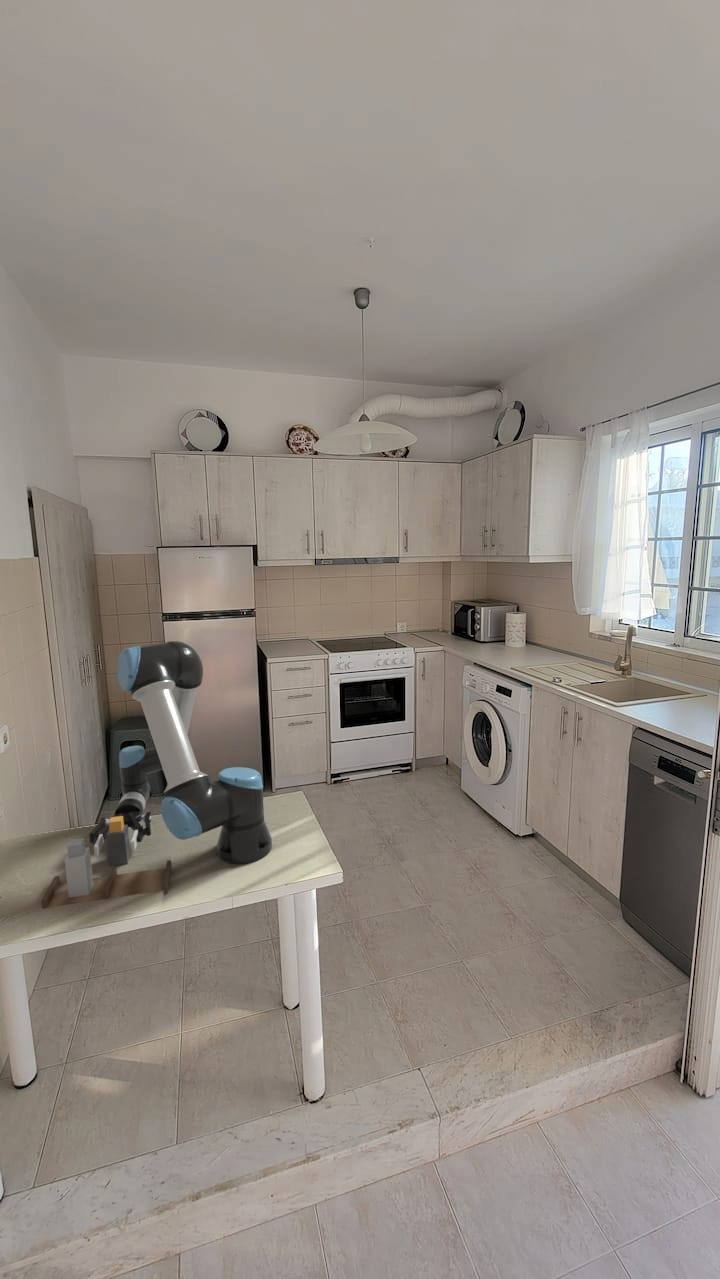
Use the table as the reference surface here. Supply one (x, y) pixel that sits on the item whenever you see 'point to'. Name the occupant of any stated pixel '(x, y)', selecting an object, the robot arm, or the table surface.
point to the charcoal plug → (118, 842)
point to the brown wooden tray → (111, 886)
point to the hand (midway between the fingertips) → (114, 848)
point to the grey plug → (78, 868)
